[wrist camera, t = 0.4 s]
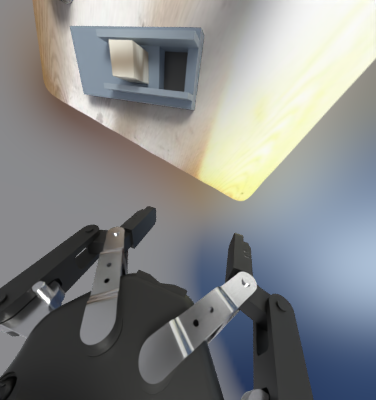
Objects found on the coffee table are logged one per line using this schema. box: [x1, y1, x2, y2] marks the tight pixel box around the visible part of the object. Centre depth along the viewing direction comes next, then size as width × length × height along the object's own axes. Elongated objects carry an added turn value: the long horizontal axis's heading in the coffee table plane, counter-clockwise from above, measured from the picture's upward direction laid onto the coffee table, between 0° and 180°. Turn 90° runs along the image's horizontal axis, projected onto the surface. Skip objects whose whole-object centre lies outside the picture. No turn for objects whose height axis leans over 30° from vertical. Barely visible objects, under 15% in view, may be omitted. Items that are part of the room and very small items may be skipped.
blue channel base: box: [70, 26, 204, 110], centre depth 30 cm, size 12×30×6 cm, turn 82°
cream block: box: [109, 39, 149, 84], centre depth 28 cm, size 5×5×5 cm
